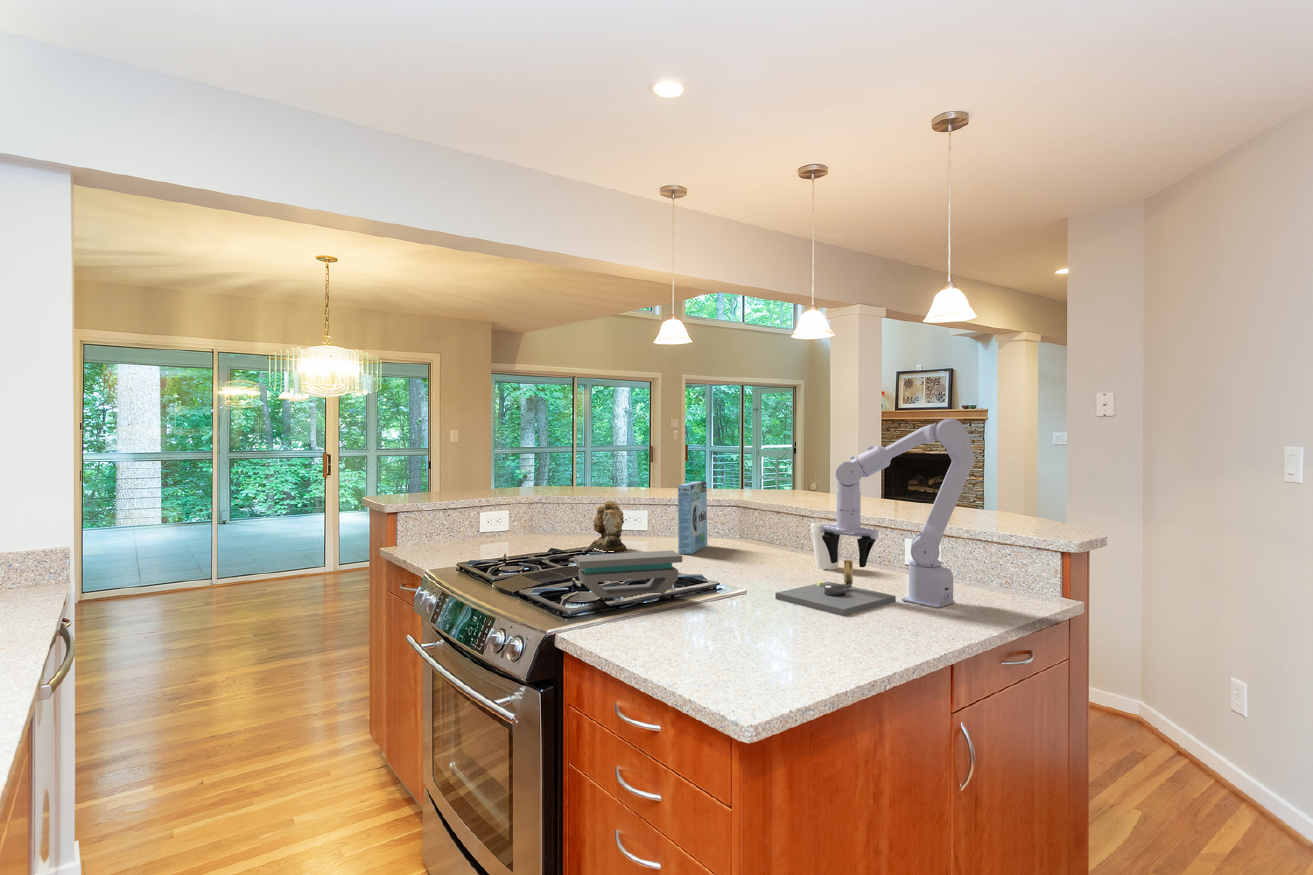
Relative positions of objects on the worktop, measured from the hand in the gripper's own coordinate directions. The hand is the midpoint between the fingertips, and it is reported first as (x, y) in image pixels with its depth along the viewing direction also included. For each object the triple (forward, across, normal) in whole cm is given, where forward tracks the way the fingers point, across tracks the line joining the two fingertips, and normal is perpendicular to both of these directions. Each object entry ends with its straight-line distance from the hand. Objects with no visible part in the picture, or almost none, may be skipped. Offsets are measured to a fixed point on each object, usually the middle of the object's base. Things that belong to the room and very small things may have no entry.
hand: (848, 564), depth 173 cm
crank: (+6, 0, -4) cm, 7 cm away
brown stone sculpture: (+8, -94, +8) cm, 94 cm away
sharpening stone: (+8, -37, -40) cm, 55 cm away
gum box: (+8, -70, +26) cm, 75 cm away
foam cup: (+8, -20, +27) cm, 35 cm away
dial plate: (+8, 0, -7) cm, 10 cm away
